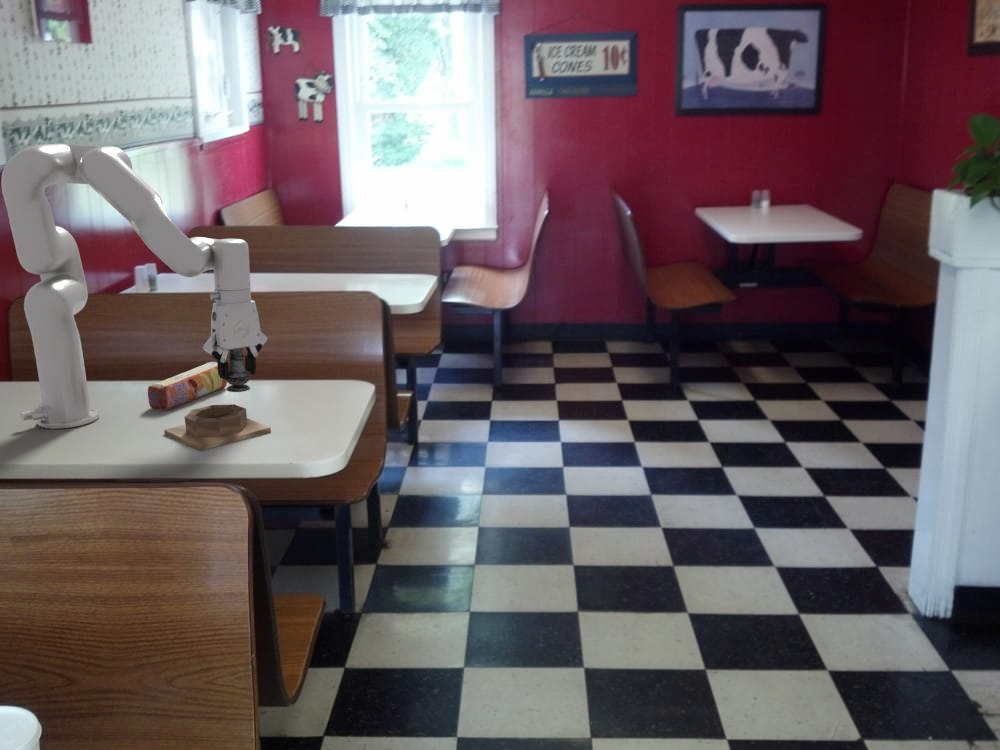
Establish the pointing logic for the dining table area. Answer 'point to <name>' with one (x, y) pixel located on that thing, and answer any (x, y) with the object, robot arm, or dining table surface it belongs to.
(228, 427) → the collar
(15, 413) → the dining table surface
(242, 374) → the grey upright turned piece
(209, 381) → the snack package
